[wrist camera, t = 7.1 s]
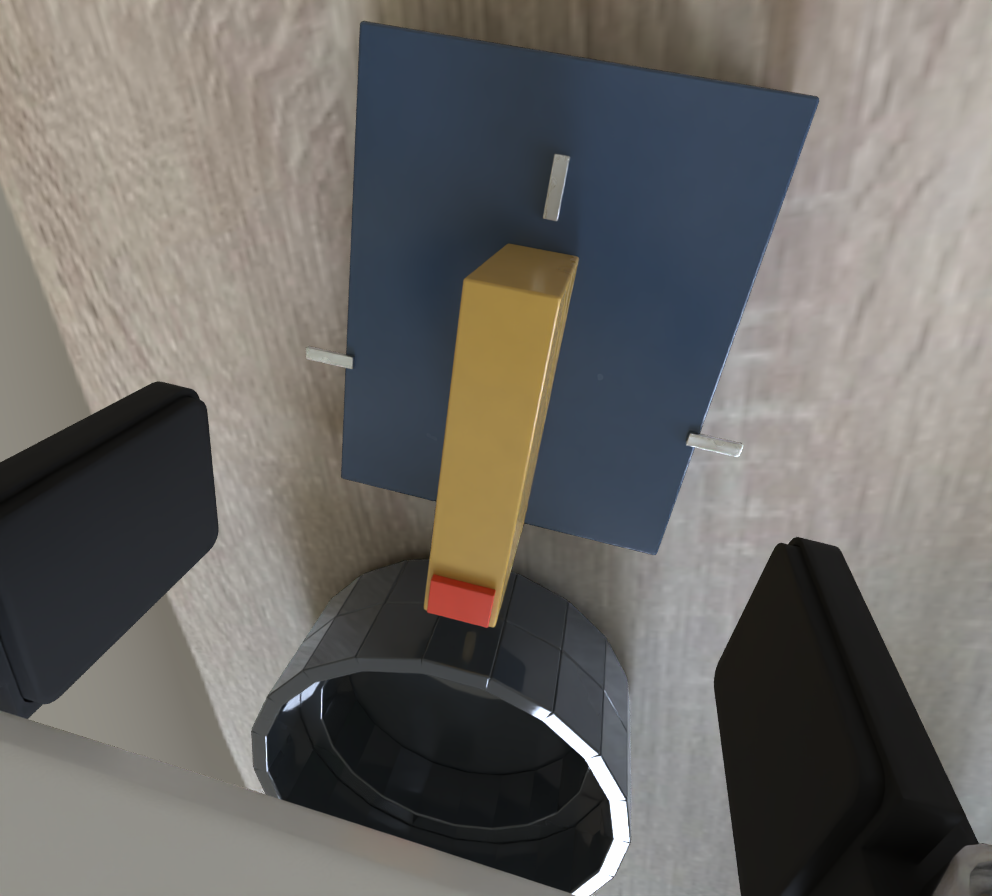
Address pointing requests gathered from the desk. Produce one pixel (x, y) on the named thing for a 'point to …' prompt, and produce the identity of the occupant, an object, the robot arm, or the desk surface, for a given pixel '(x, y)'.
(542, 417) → the yellow rectangular block
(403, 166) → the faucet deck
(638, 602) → the desk surface
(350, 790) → the basin
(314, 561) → the desk surface
